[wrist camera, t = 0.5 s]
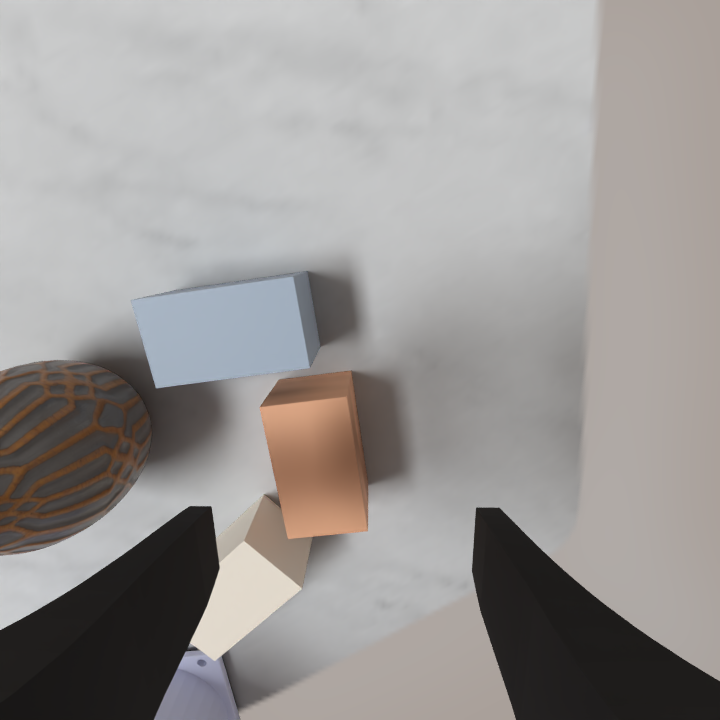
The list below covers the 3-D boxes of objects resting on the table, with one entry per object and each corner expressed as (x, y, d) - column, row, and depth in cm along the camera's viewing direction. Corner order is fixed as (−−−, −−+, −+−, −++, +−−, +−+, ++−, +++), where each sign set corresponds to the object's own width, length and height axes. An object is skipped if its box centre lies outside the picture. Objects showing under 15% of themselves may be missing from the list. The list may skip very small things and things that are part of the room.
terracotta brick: (368, 483, 21) (367, 530, 17) (301, 490, 21) (287, 539, 17) (351, 369, 19) (346, 396, 16) (279, 378, 19) (259, 407, 16)
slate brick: (194, 362, 19) (156, 388, 16) (176, 290, 18) (130, 300, 15) (320, 346, 19) (309, 368, 16) (308, 270, 18) (293, 276, 15)
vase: (163, 343, 19) (-4, 420, 11) (184, 477, 21) (55, 635, 12) (16, 346, 19) (-263, 424, 11) (50, 478, 21) (-167, 634, 13)
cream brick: (238, 598, 23) (214, 660, 19) (190, 560, 22) (157, 618, 19) (313, 533, 22) (302, 588, 18) (264, 492, 21) (243, 540, 18)
